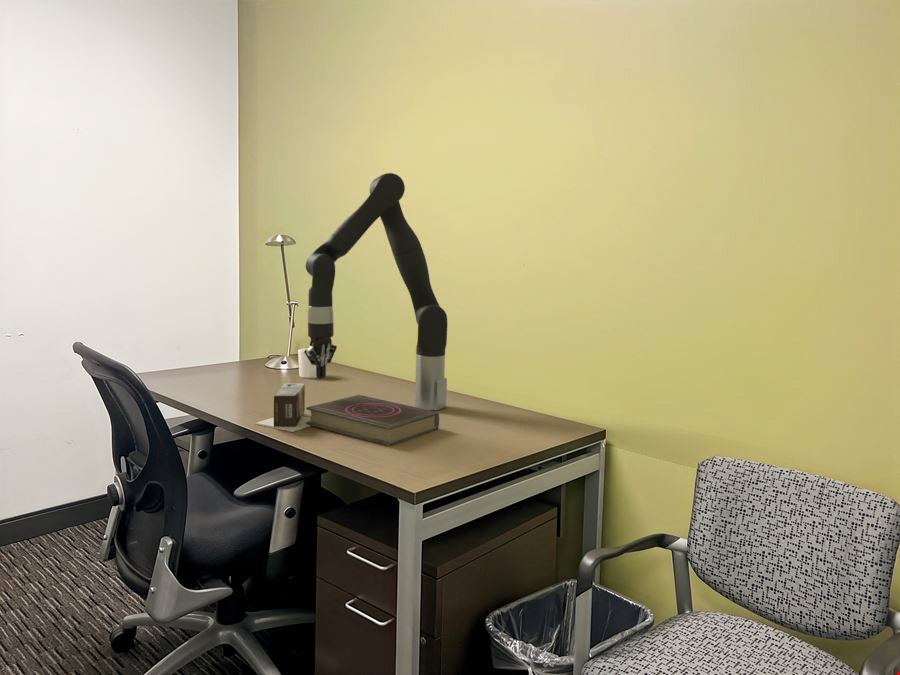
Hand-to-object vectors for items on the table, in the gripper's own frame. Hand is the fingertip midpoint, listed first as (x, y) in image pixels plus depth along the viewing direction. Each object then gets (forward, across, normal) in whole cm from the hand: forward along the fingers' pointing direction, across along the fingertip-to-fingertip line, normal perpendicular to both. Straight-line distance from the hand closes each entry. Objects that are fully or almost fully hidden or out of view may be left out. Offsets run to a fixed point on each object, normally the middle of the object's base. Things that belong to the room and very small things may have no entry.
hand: (321, 378), depth 208 cm
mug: (+11, +42, +38) cm, 58 cm away
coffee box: (+6, -4, +7) cm, 10 cm away
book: (+11, -4, -21) cm, 24 cm away
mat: (+11, -12, +1) cm, 16 cm away
